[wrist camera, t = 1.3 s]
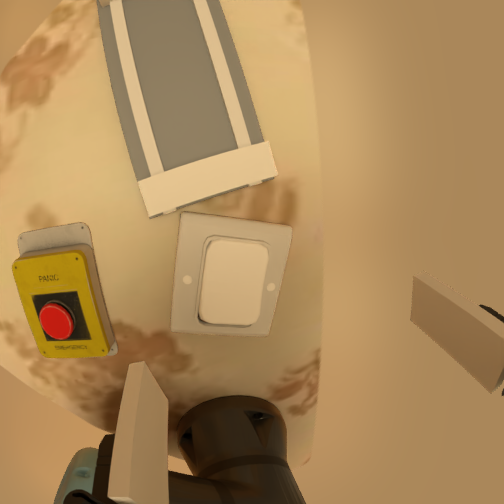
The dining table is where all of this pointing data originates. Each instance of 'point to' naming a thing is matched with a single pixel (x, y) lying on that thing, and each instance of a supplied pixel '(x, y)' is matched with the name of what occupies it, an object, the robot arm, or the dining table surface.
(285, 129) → the dining table surface
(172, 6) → the rail board
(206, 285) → the light switch
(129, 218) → the dining table surface
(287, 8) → the dining table surface
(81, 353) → the emergency button
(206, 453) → the robot arm
